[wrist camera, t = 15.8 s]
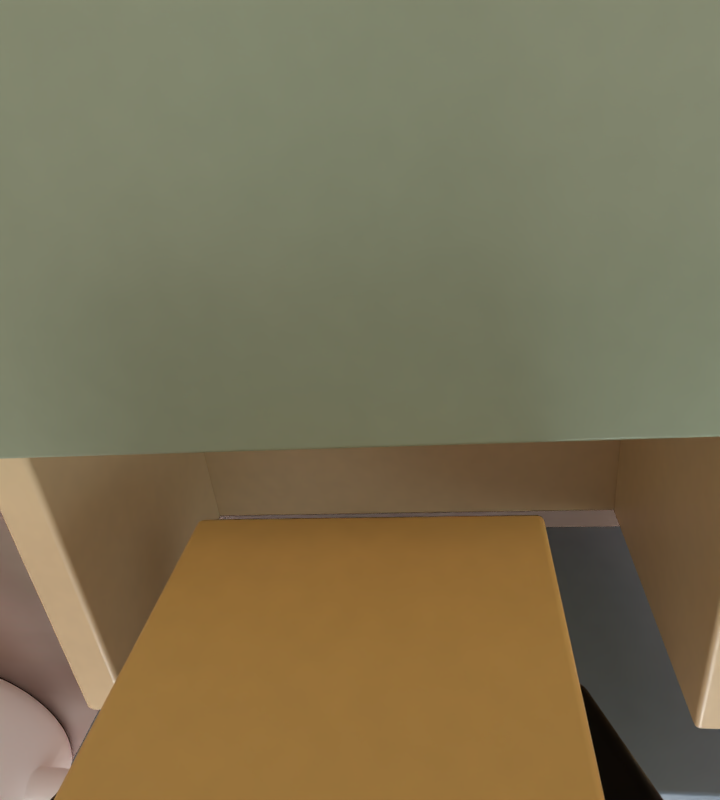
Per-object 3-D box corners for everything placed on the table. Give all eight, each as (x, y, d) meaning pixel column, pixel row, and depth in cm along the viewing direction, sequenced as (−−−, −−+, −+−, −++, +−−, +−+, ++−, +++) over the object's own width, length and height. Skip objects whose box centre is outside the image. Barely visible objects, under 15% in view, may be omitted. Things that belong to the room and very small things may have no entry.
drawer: (636, 707, 19) (722, 997, 13) (238, 696, 21) (159, 947, 15) (743, -73, 11) (1132, -233, 5) (47, 23, 12) (-317, -3, 6)
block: (544, 512, 8) (642, 954, 4) (536, 744, 10) (596, 1188, 6) (198, 517, 9) (-6, 901, 5) (256, 733, 11) (149, 1127, 7)
